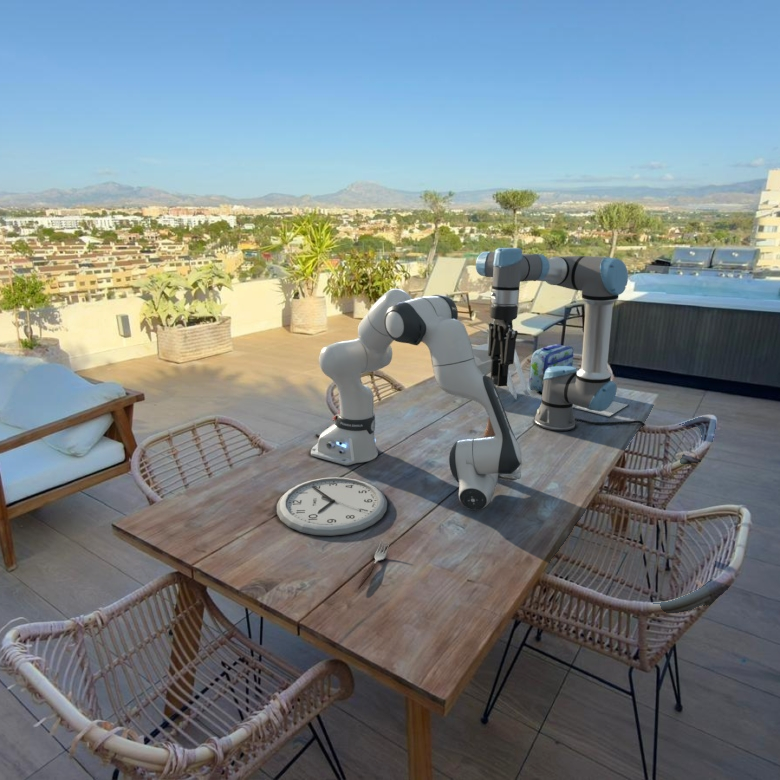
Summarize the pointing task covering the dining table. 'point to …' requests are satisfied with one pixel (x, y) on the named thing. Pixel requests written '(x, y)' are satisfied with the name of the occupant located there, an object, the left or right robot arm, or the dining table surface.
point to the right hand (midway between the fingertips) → (498, 383)
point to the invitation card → (609, 411)
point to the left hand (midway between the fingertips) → (489, 455)
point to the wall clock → (331, 506)
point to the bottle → (489, 430)
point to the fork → (378, 557)
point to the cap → (495, 379)
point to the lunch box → (548, 363)
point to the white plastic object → (485, 364)
